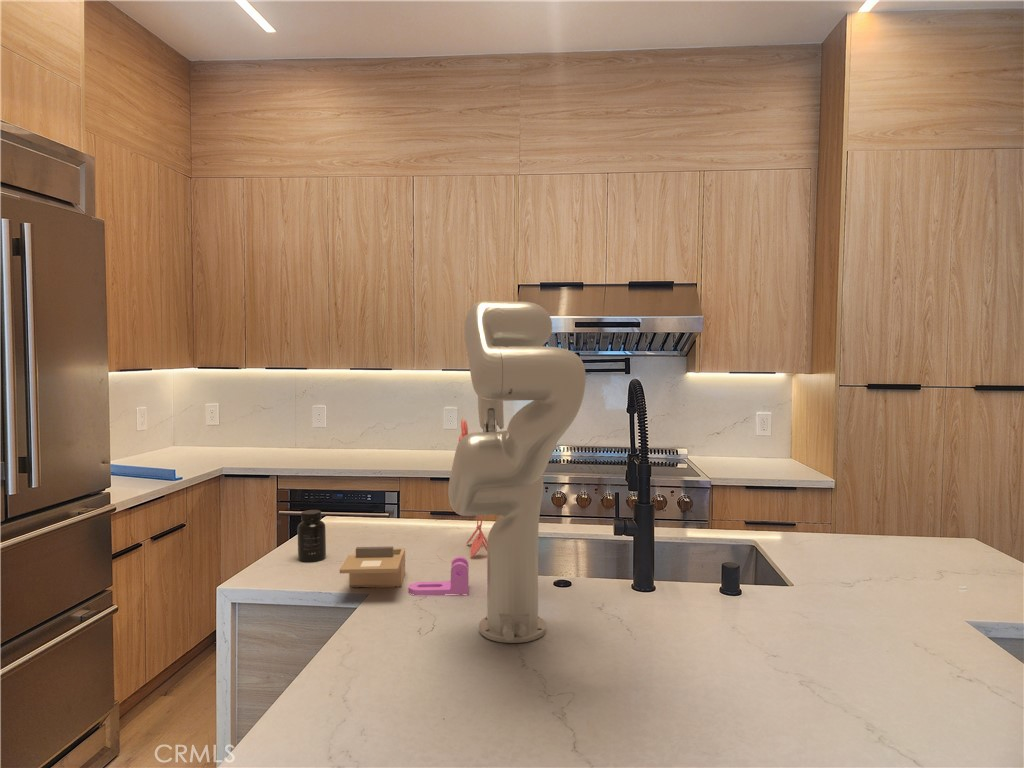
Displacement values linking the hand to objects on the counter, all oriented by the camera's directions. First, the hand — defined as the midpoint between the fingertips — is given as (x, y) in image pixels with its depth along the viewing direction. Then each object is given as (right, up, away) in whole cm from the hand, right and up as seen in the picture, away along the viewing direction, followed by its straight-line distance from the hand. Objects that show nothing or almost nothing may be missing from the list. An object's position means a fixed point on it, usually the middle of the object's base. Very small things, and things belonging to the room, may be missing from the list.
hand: (489, 460), depth 149 cm
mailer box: (-26, -28, +8) cm, 39 cm away
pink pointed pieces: (-8, -27, +30) cm, 42 cm away
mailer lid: (-25, -22, -2) cm, 34 cm away
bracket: (-11, -29, +1) cm, 31 cm away
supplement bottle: (-46, -28, +24) cm, 59 cm away
